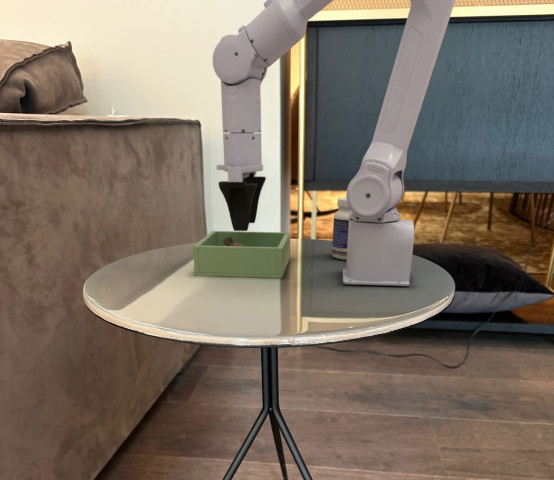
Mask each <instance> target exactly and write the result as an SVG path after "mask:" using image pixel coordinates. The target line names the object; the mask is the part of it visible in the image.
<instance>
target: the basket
mask: <svg viewBox="0 0 554 480" xmlns="http://www.w3.org/2000/svg"><path fill="white" fill-rule="evenodd" d="M227 237H232V238H233V240H234V242H235V243H238V244H243V245H245V246H248V247H243V246H226V245H225V244H224V242H223V240H224V239H225V238H227ZM290 248H291V233H290V232H289V231H288V232H285V231H281V232H280V231H279V232H278V231H234V230H233V231H232V230H212V231H211V232H209V233H208V234H207V235H205V236H204V237H203V238H201V239H200V240H199V241H198V242H196V244H194V245H193V246H192V252H193V268H194V269H193V271H194V276H199V277H200V276H201V277H203V276H204V277H232V278H233V277H235V278H269V279H283V277H284V274H285V272H286V269H287V267H288V264H289V261H290V258H291V256H290V255H291V254H290V253H291V249H290Z"/></svg>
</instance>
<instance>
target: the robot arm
mask: <svg viewBox="0 0 554 480" xmlns="http://www.w3.org/2000/svg"><path fill="white" fill-rule="evenodd" d="M333 1H334V0H265V1H264V2H263V7H264V9H263V10H261V11H260V13H258V14H257V15H256V16H255V17H254V18H253V19H252V20H251V21H250V22H249V23H248V24H247V25H241V26H240V27H239V29H238V30H237V32H238V34H226V35H223V36H222V37H221V39H220V40H219V42H218V43H217V44H216V46H215V47H214V50H213V54H212V68H213V70H214V73H215V74H216V76H217V77H218V79H219V80H220V93H221V95H220V96H221V97H220V98H221V120H222V141H223V142H222V143H223V164H216V170H217V171H223V172H226V173H227V180H225V181H224V180H221V181H218V188H219V190H220V192H221V194H222V196H223V197H224V201H225V202H226V205H227V209H228V213H229V218H230V222H231V227H232V229H233V231H241V232H248V231H249V230H248V229H249V227H250V224H255V223H256V220H257V219H256V218H257V215H258V207H259V201H260V197H261V193H262V190H263V187H264V185H265V183H266V180H267V179H266V178H267V177H266V176H258V175H257V172H263V171H264V164H262V162H263V160H262V158H263V157H262V154H263V153H262V108H261V107H262V97H261V86H262V83H263V81H264V80H265V78H266V75H267V73H268V68H270V67H271V66H272V65H273V64H275V63H276V62H277V61H278V60H280V58H282V57H283V56H284V55H285V54H286V53H287V52H288V51H290V50H291V49H292V48H293V47H294V46H296V45H297V44H298V43H299V42H300V41H301V40H303V38H305V35H306V30H307V26H308V23H309V20H311V19H312V18H314V16H317V14H318V13H320V12H321V11H322V10H323V9H325V8H326V7H327V6H328V5H330V4H331V3H333ZM409 1H410V8H409V11H408V15H407V17H406V22H405V25H404V28H403V32H402V36H401V39H400V42H399V46H398V51H397V52H396V56H395V61H394V64H393V68H392V71H391V74H390V77H389V81H388V84H387V87H386V92H385V95H384V97H383V101H382V104H381V105H382V106H381V109H380V113H379V116H378V120H377V123H376V126H375V130H374V133H373V137H372V141H371V143H370V145H369V147H368V149H367V150H366V152H365V155H364V156H363V158H362V160H361V164H360V168H359V170H358V171H357V173H356V175H355V176H354V177H353V178H352V179H351V180H350V181H349V183H348V185H347V188H346V193H345V198H346V200H347V204H348V207H349V208H350V210H351V211H352V213H351V214H349V228H348V245H347V260H346V265H345V268H343V269H342V284H343V285H356V286H390V287H391V286H393V287H409V286H410V285H411V283H410V278H411V271H412V260H413V251H414V241H415V224H414V221H413V220H412V219H401V213H399V211H398V209H397V206H398V205H399V204H400V203H401V201H402V199H403V196H404V193H405V183H404V173H405V170H406V166H407V158H408V150H409V146H410V144H411V140H412V137H413V134H414V130H415V128H416V125H417V121H418V118H419V115H420V112H421V109H422V105H423V102H424V100H425V97H426V93H427V91H428V87H429V83H430V80H431V78H432V74H433V71H434V69H435V65H436V62H437V59H438V56H439V53H440V50H441V46H442V43H443V40H444V38H445V34H446V31H447V28H448V25H449V21H450V18H451V15H452V12H453V9H454V6H455V3H456V2H455V1H456V0H409Z"/></svg>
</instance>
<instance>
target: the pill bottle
mask: <svg viewBox="0 0 554 480" xmlns="http://www.w3.org/2000/svg"><path fill="white" fill-rule="evenodd" d="M336 206H337V207H338V210H337V211H336V212H335V213H334V215H333V224H332V225H333V227H332V243H331V255H332V257H333V258H334V259H338V260H341V261H347V245H348V228H349V214H351V213H352V211H351V210H350V208H349V207H348V204H347V200H346V197H339V198H337V205H336Z"/></svg>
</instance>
